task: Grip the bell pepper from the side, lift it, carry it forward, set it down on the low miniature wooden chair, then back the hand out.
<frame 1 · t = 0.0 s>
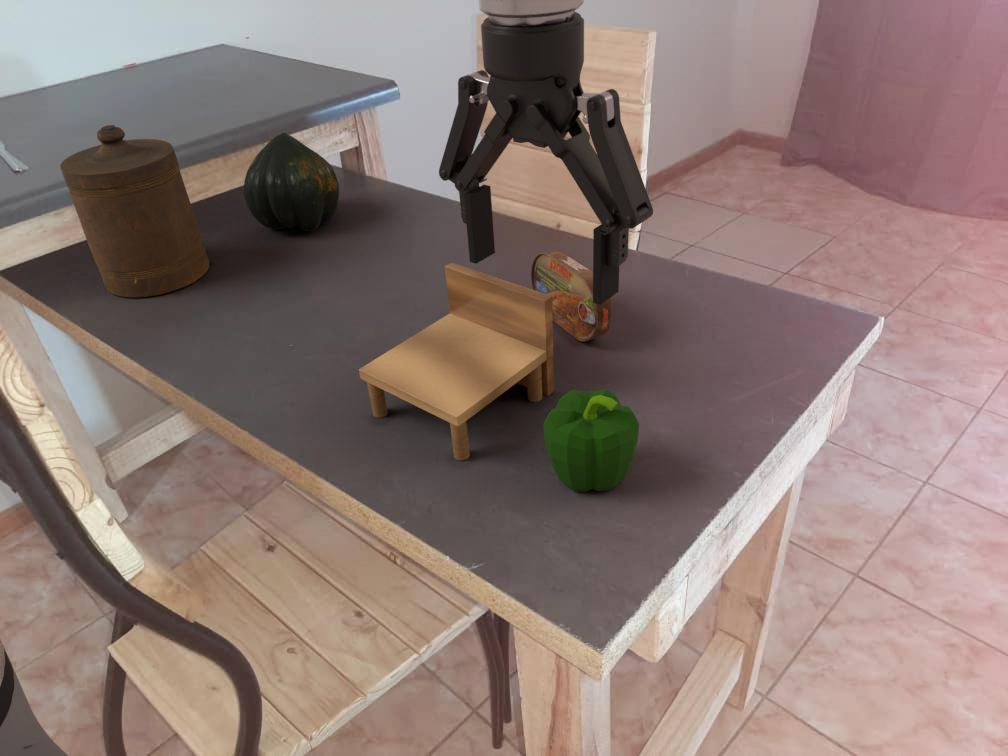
hand: (540, 276, 68), 19 cm above the table, tool pointing down, fingers open, 13 cm apart
tin: (570, 324, 98), on the table
squash: (299, 224, 129), on the table
bell pepper: (589, 477, 74), on the table
wooden container: (159, 276, 116), on the table
miniature wooden chair: (458, 405, 85), on the table
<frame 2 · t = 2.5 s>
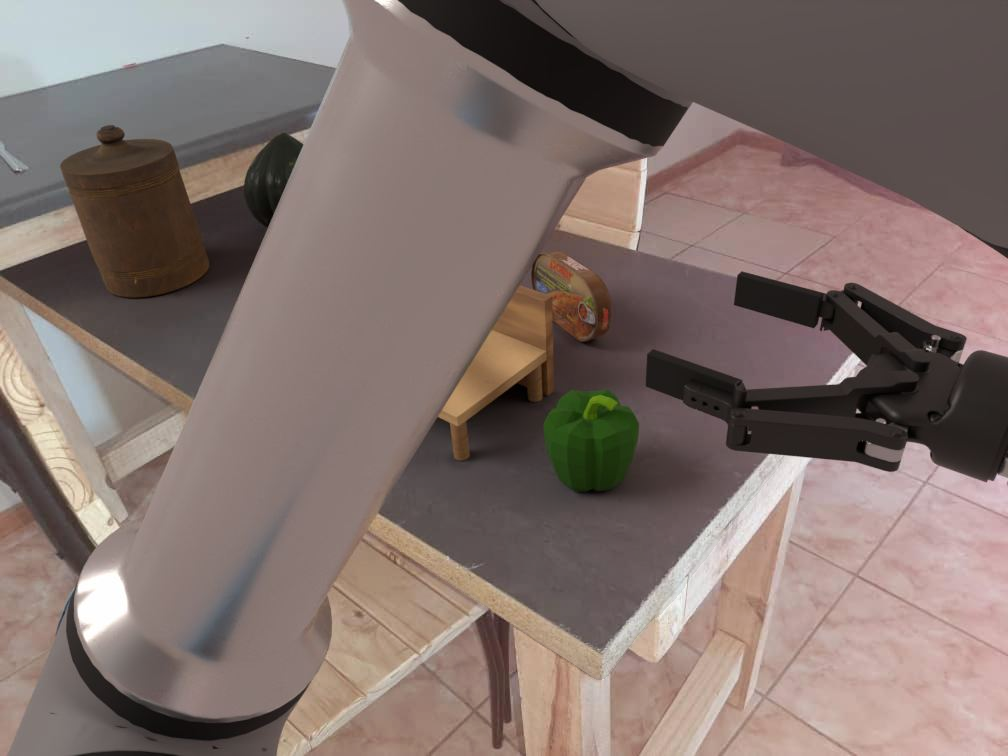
hand: (695, 325, 58), 20 cm above the table, tool horizontal, fingers open, 13 cm apart
nothing on the table moved.
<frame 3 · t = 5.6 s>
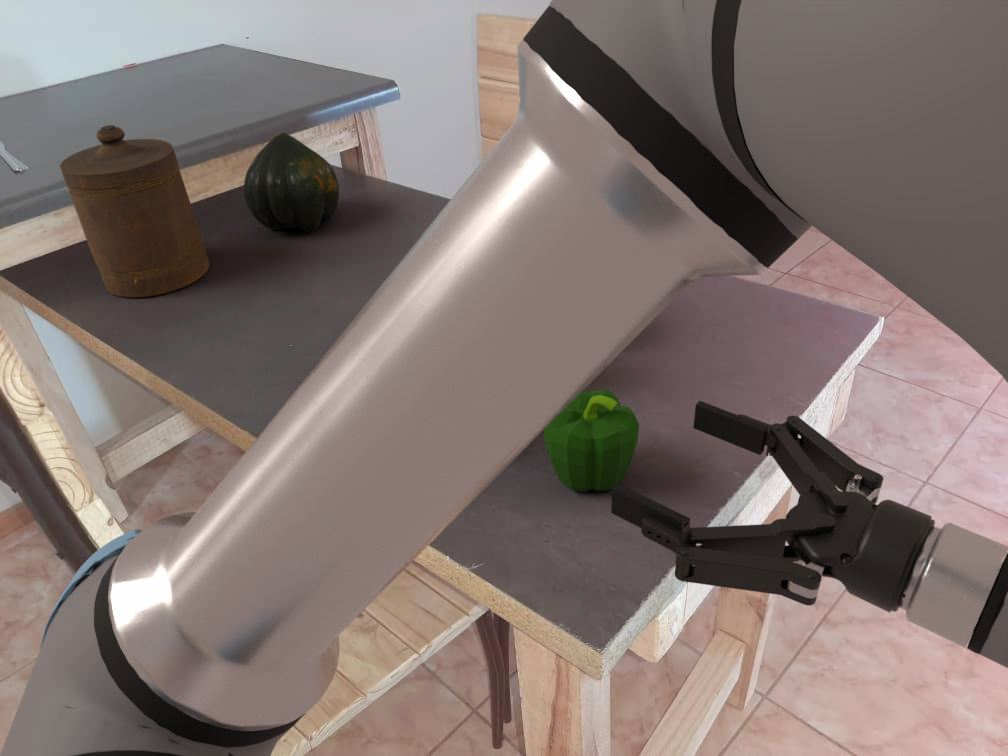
hand: (657, 453, 67), 6 cm above the table, tool horizontal, fingers open, 13 cm apart
nothing on the table moved.
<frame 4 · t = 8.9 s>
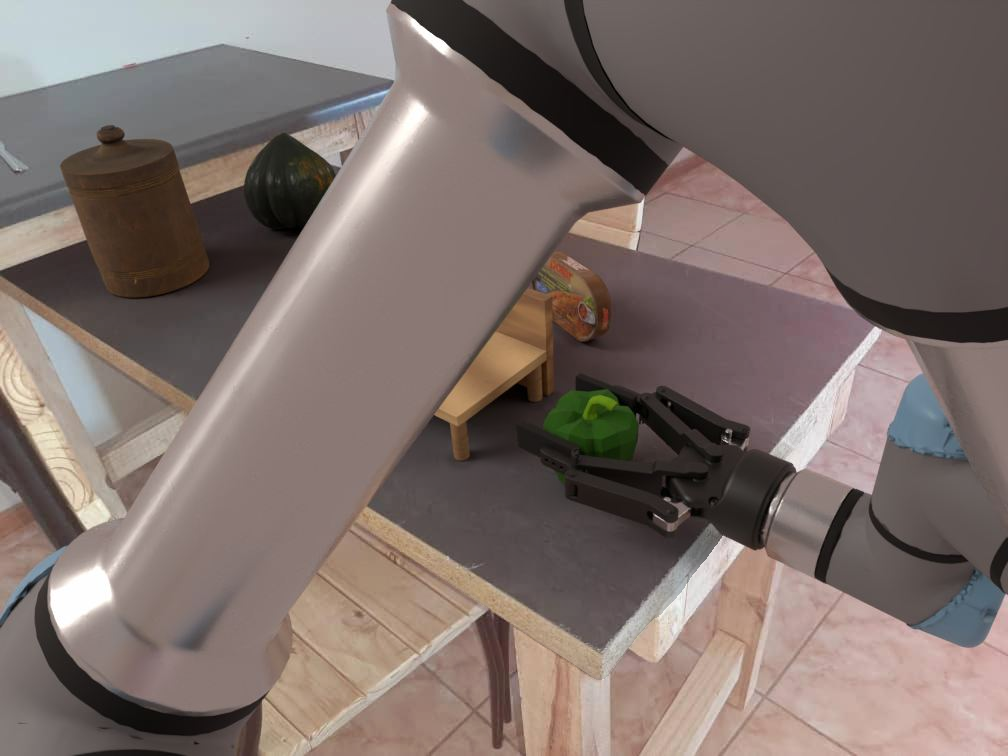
hand: (549, 408, 73), 6 cm above the table, tool horizontal, fingers closed on bell pepper, 8 cm apart
bell pepper: (589, 477, 74), on the table, touching gripper
everything else where it was.
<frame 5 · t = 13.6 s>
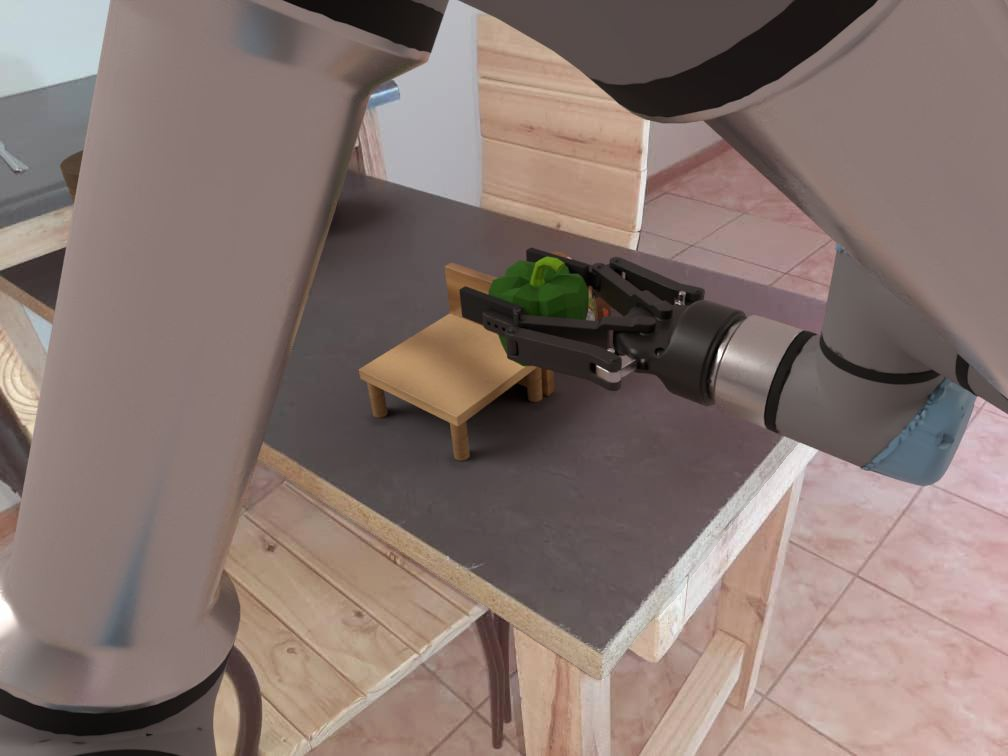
hand: (497, 281, 70), 18 cm above the table, tool horizontal, fingers closed on bell pepper, 8 cm apart
bell pepper: (540, 355, 71), point 12 cm above the table, touching gripper
everything else where it was.
when the fingers open (12 cm above the table, at t = 18.6 s): bell pepper stays where it is, resting on miniature wooden chair.
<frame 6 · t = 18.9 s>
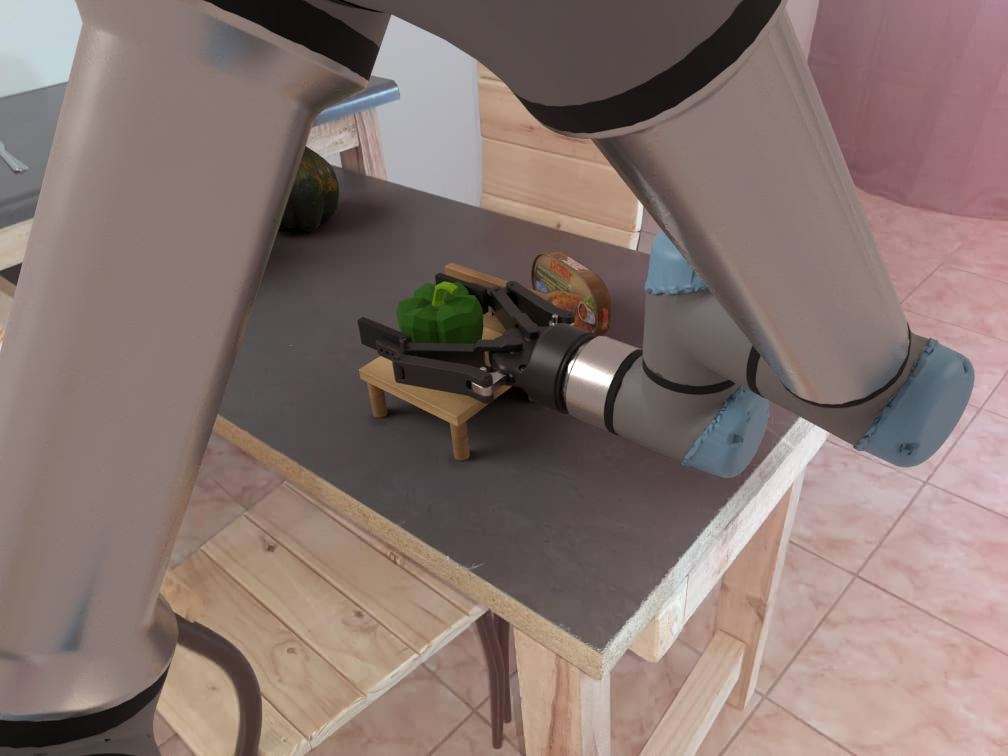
hand: (402, 306, 79), 12 cm above the table, tool horizontal, fingers open, 10 cm apart
bell pepper: (445, 366, 81), point 6 cm above the table, touching gripper, miniature wooden chair
everything else where it was.
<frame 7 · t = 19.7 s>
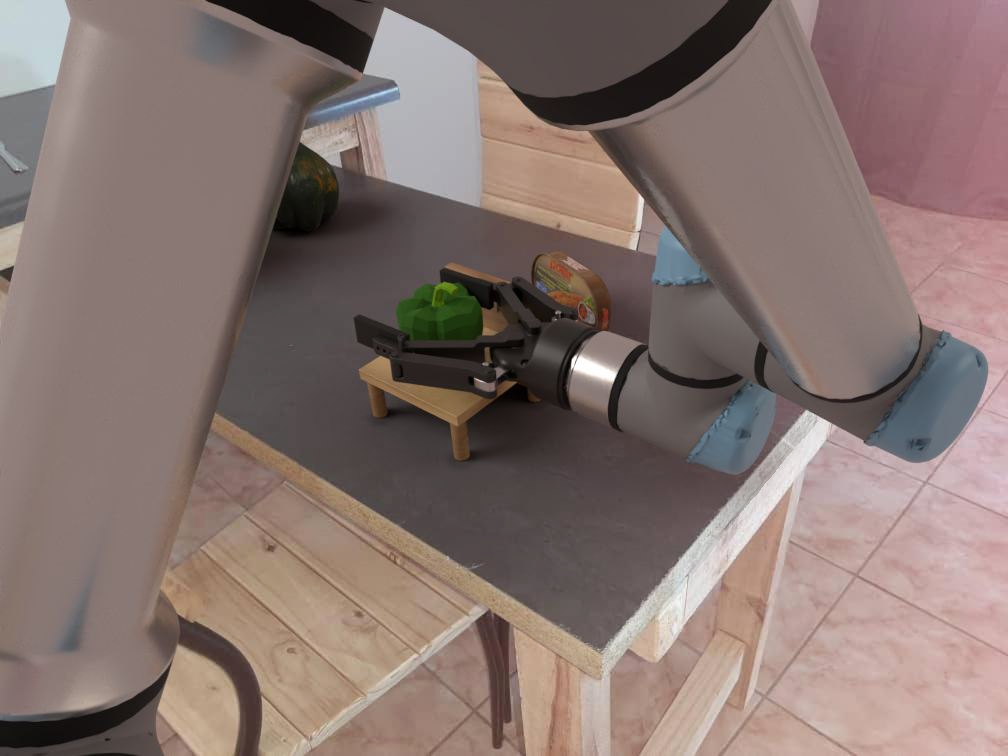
hand: (402, 303, 78), 13 cm above the table, tool horizontal, fingers open, 11 cm apart
nothing on the table moved.
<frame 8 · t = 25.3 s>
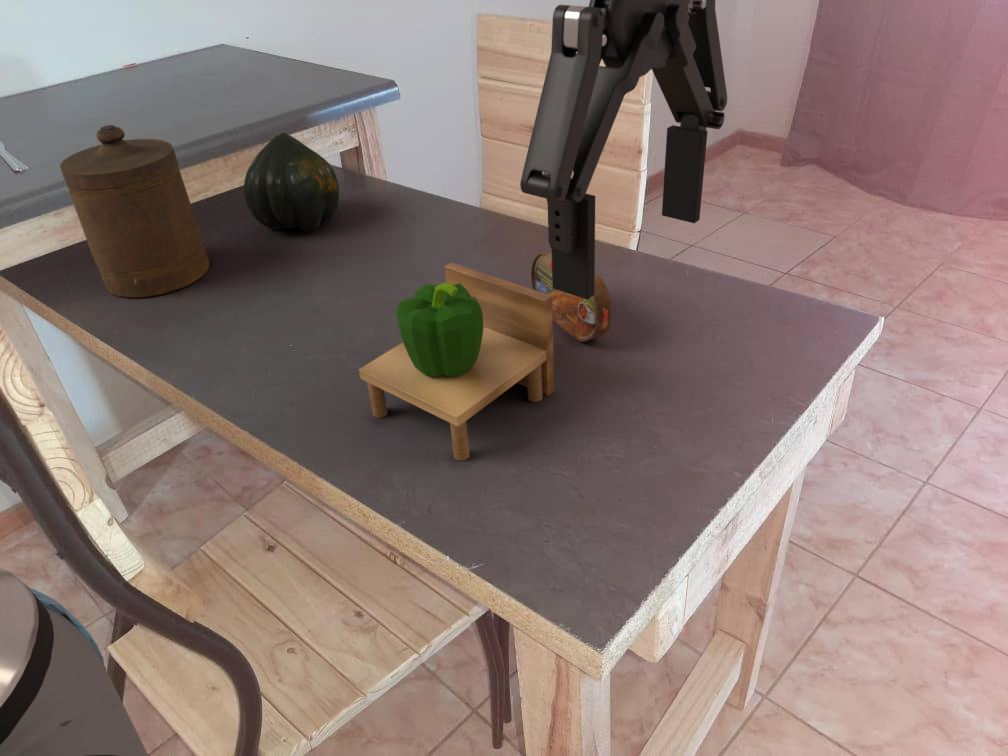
hand: (630, 252, 53), 27 cm above the table, tool pointing down, fingers open, 13 cm apart
bell pepper: (445, 367, 81), point 6 cm above the table, touching miniature wooden chair
everything else where it was.
at the end: bell pepper inside the target area on the miniature wooden chair (0.8 cm from its centre), point 5.8 cm above the miniature wooden chair's base; the gripper is holding nothing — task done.
